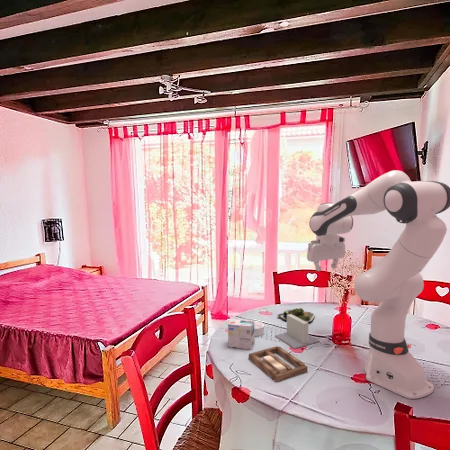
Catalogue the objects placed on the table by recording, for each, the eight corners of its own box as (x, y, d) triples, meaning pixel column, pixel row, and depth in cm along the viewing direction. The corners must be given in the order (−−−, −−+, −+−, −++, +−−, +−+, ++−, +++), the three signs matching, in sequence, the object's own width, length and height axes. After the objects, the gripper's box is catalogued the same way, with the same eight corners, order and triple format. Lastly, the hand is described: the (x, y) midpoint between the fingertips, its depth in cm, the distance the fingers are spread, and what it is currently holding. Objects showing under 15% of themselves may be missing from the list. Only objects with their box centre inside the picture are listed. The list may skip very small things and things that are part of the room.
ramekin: (267, 331, 162) (267, 322, 162) (260, 338, 155) (260, 329, 154) (250, 328, 166) (250, 319, 166) (242, 335, 159) (242, 326, 158)
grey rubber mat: (319, 342, 150) (319, 340, 150) (294, 349, 144) (294, 347, 144) (299, 330, 162) (299, 329, 162) (275, 336, 156) (275, 335, 156)
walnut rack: (307, 371, 126) (307, 365, 126) (276, 382, 119) (276, 375, 119) (277, 350, 143) (277, 344, 142) (248, 358, 136) (248, 352, 136)
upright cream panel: (308, 342, 148) (308, 322, 147) (303, 343, 147) (303, 323, 146) (290, 332, 159) (291, 313, 158) (286, 333, 158) (286, 314, 157)
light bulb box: (255, 343, 150) (254, 319, 149) (252, 350, 143) (251, 325, 142) (231, 340, 153) (231, 317, 151) (227, 347, 146) (227, 323, 145)
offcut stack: (286, 376, 123) (286, 368, 123) (279, 378, 122) (279, 370, 122) (269, 363, 133) (269, 355, 133) (262, 365, 132) (262, 356, 131)
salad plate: (287, 308, 193) (287, 301, 192) (318, 314, 184) (319, 306, 183) (274, 320, 176) (274, 312, 175) (308, 327, 167) (308, 318, 167)
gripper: (313, 241, 144) (313, 273, 146) (347, 237, 154) (347, 267, 155) (303, 240, 150) (303, 270, 151) (337, 236, 159) (336, 265, 161)
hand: (326, 269), depth 153 cm, fingers open, 8 cm apart
